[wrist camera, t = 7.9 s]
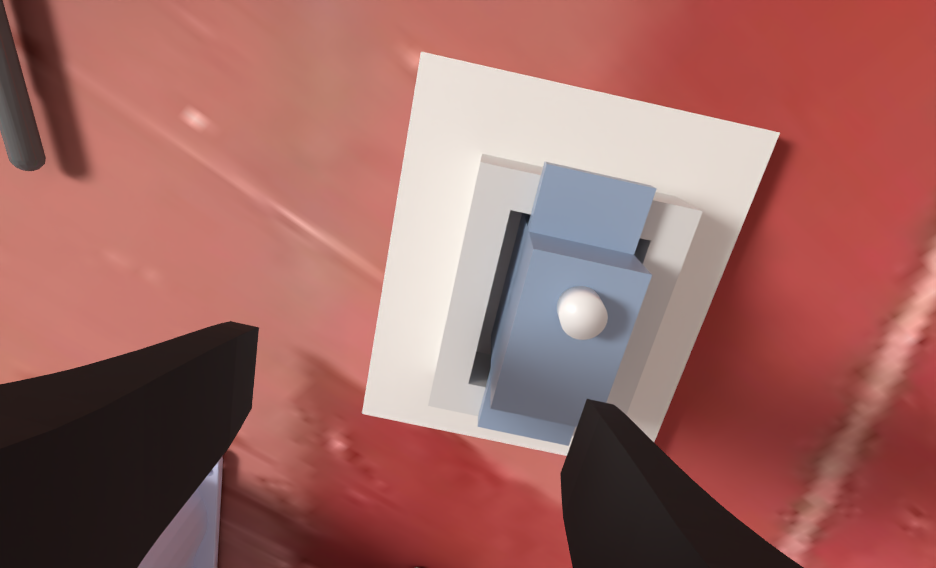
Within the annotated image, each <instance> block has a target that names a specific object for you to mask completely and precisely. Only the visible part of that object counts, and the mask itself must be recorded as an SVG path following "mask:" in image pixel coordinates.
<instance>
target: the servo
mask: <svg viewBox="0 0 936 568" xmlns="http://www.w3.org/2000/svg"><path fill="white" fill-rule="evenodd" d="M655 192H656V188H655V187H653V186H651V185H647V184H643V183H638V182H634V181H630V180H625V179H621V178H616V177H612V176H607V175H603V174H599V173H594V172H590V171H585V170H581V169H576V168H572V167H568V166H563V165H559V164H554V163H550V162H544V166H543V170H542V173H541V177H540V181H539V185H538V189H537V193H536V196H535V200H534V204H533V208H532V212H531V214H527V213H522V216H521V220H520V224H519V228H518V231H517V235H516V239H515V243H514V247H513V251H512V255H511V259H510V263H509V267H508V271H507V275H506V279H505V282H504V286H503V290H502V294H501V298H500V302H499V306H498V310H497V314H496V318H495V322H494V326H493V330H492V333H491V369H490V373H489V376H488V380H487V384H486V388H485V392H484V396H483V399H482V403H481V407H480V411H479V415H478V427H481V428H486V429H490V430H495V431H500V432H505V433H509V434H514V435H519V436H524V437H529V438H533V439H538V440H543V441H548V442H552V443H557V444H562V445H567V446H569V444H570V441H571V438H572V435H573V432H574V429H575V427H577V425H578V422H579V420H580V417H581V414H582V411H583V408H584V405H585V402H586V400H587V399H591V400H595V401H600V402H605V403H606V402H607V399H608V396H609V394H610V391H611V388H612V385H613V383H614V380H615V377H616V374H617V371H618V369H619V366H620V363H621V360H622V358H623V355H624V352H625V349H626V346H627V344H628V341H629V338H630V335H631V333H632V330H633V327H634V324H635V321H636V319H637V316H638V313H639V310H640V308H641V305H642V302H643V299H644V296H645V294H646V291H647V288H648V285H649V283H650V280H651V277H652V274H651V273H650V272H649V271H648V270H647V269H646V267H645V266H644V265H643V264H642V263H641V262H640V261H639V260H638V259H637V257H636V256H635V255H634V253H635V251H636V248H637V245H638V242H639V239H640V236H641V233H642V230H643V227H644V224H645V221H646V218H647V215H648V212H649V210H650V207H651V204H652V201H653V198H654V195H655Z"/></svg>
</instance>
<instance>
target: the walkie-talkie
mask: <svg viewBox="0 0 936 568" xmlns="http://www.w3.org/2000/svg"><path fill="white" fill-rule="evenodd" d="M0 131H1V134H2V137H3V141H4V144H5V148H6V151H7V154H8V158H9V160H10V162H11V163H12V164H13V165H14V166H15V167H17V168H19V169H21V170H25V171H34V170H37V169H40V168H41V167H42V166H43V165H44V164H45V159H46V157H45V154H44V150H43V146H42V143H41V139H40V135H39V132H38V128H37V124H36V121H35V117H34V113H33V110H32V106H31V102H30V99H29V95H28V92H27V88H26V84H25V81H24V77H23V73H22V70H21V66H20V62H19V59H18V55H17V51H16V48H15V44H14V40H13V37H12V33H11V30H10V26H9V22H8V19H7V15H6V11H5V8H4V4H3V0H0Z"/></svg>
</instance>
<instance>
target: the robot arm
mask: <svg viewBox="0 0 936 568" xmlns="http://www.w3.org/2000/svg"><path fill="white" fill-rule="evenodd" d="M258 331H259V327H254V326H250V325H245V324H240V323H236V322H231V321H230V322H225V323H221V324H217V325H214V326H211V327H207V328H204V329H201V330H198V331H195V332H192V333H189V334H186V335H183V336H180V337H177V338H174V339H171V340H168V341H165V342H162V343H159V344H156V345H153V346H149V347H146V348H143V349H140V350H137V351H133V352H130V353H127V354H123V355H120V356H116V357H113V358H109V359H106V360H103V361H99V362H96V363H92V364H89V365H85V366H82V367H78V368H74V369H70V370H66V371H62V372H57V373H53V374H49V375H44V376H39V377H35V378H30V379H25V380H21V381H16V382H11V383H6V384H0V568H217V562H218V543H219V524H220V506H221V487H222V468H223V457H222V456H223V455H224V453H225V452H226V451H227V449H228V448H229V446H230V445H231V443H232V442H233V440H234V438H235V437H236V435H237V433H238V432H239V430H240V428H241V426H242V425H243V423H244V421H245V419H246V417H247V416H248V414H249V412H250V410H251V409H252V398H253V387H254V376H255V365H256V353H257V342H258ZM561 493H562V508H563V519H564V524H565V530H566V535H567V540H568V545H569V551H570V556H571V561H572V566H573V568H803V567H802V566H800V565H799V564H797V563H796V562H795V561H793V560H792V559H790V558H789V557H787V556H786V555H785V554H783V553H782V552H780V551H779V550H778V549H776V548H775V547H773V546H772V545H771V544H769V543H768V542H767V541H765V540H764V539H763V538H762V537H760V536H759V535H758V534H756V533H755V532H754V531H753V530H751V529H750V528H749V527H747V526H746V525H745V524H744V523H742V522H741V521H740V520H738V519H737V518H736V517H735V516H733V515H732V514H731V513H730V512H729V511H727V510H726V509H725V508H724V507H723V506H721V505H720V504H719V503H718V502H717V501H716V500H715V499H713V498H712V497H711V496H710V495H709V494H708V493H707V492H706V491H704V490H703V489H702V488H701V487H700V486H699V485H698V484H697V483H695V482H694V481H693V480H692V479H691V478H690V477H689V476H688V475H687V474H686V473H685V472H684V471H683V470H682V469H680V468H679V467H678V466H677V465H676V464H675V463H674V462H673V461H672V460H671V459H670V458H669V457H668V456H667V455H666V454H665V453H664V452H663V451H662V450H661V449H660V448H659V447H658V446H657V445H656V444H655V443H654V442H653V441H652V440H651V439H650V438H649V437H648V436H647V435H646V434H645V433H644V432H643V431H642V430H641V429H640V428H639V427H638V426H637V425H636V424H635V423H634V422H633V421H632V420H631V419H630V418H629V417H628V416H627V415H626V414H625V413H624V412H622V411H621V410H620V409H619V408H618V407H617V406H615V405H614V404H609V403H605V402H600V401H595V400H591V399H587V400H586V402H585V405H584V408H583V411H582V414H581V417H580V420H579V422H578V425H577V428H576V431H575V434H574V437H573V440H572V442H571V445H570V448H569V451H568V454H567V457H566V460H565V463H564V465H563V468H562V471H561Z"/></svg>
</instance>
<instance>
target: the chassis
mask: <svg viewBox="0 0 936 568" xmlns="http://www.w3.org/2000/svg"><path fill="white" fill-rule="evenodd" d="M779 134H780V133H779V132H774V131H770V130H766V129H761V128H757V127H752V126H748V125H743V124H739V123H735V122H730V121H726V120H721V119H717V118H712V117H708V116H704V115H699V114H695V113H690V112H686V111H682V110H677V109H673V108H668V107H664V106H659V105H655V104H651V103H646V102H642V101H637V100H633V99H628V98H624V97H620V96H615V95H611V94H606V93H602V92H598V91H593V90H589V89H584V88H580V87H575V86H571V85H567V84H562V83H558V82H553V81H549V80H544V79H540V78H536V77H531V76H527V75H522V74H518V73H514V72H509V71H505V70H500V69H496V68H491V67H487V66H483V65H478V64H474V63H469V62H465V61H461V60H456V59H452V58H447V57H443V56H438V55H434V54H430V53H425V52H421V55H420V61H419V67H418V74H417V80H416V86H415V92H414V98H413V104H412V110H411V117H410V123H409V129H408V135H407V141H406V147H405V153H404V159H403V166H402V172H401V178H400V184H399V190H398V196H397V202H396V209H395V215H394V221H393V227H392V233H391V239H390V245H389V252H388V258H387V264H386V270H385V276H384V282H383V288H382V294H381V301H380V307H379V313H378V319H377V325H376V331H375V337H374V344H373V350H372V356H371V362H370V368H369V374H368V380H367V386H366V393H365V399H364V405H363V411H362V414H366V415H371V416H376V417H381V418H385V419H390V420H395V421H400V422H405V423H410V424H415V425H419V426H424V427H429V428H434V429H439V430H444V431H449V432H453V433H458V434H463V435H468V436H473V437H478V438H483V439H487V440H492V441H497V442H502V443H507V444H512V445H517V446H521V447H526V448H531V449H536V450H541V451H546V452H551V453H555V454H560V455H565V456H567V454H568V451H569V448H570V445H571V442H572V440H573V437H574V434H575V431H576V428H577V427H575V429H574V432H573V435H572V438H571V441H570V444H569V446H567V445H562V444H557V443H552V442H548V441H543V440H538V439H533V438H529V437H524V436H519V435H514V434H509V433H505V432H500V431H495V430H490V429H486V428H481V427H478V415H479V411H480V407H481V403H482V399H483V396H484V392H485V388H486V384H487V380H488V376H489V373H490V369H491V333H492V330H493V326H494V322H495V318H496V314H497V310H498V306H499V302H500V298H501V294H502V290H503V286H504V282H505V279H506V275H507V271H508V267H509V263H510V259H511V255H512V251H513V247H514V243H515V239H516V235H517V231H518V228H519V224H520V220H521V216H522V213H527V214H531V212H532V208H533V204H534V200H535V196H536V193H537V189H538V185H539V181H540V177H541V173H542V170H543V166H544V162H550V163H554V164H559V165H563V166H568V167H572V168H576V169H581V170H585V171H590V172H594V173H599V174H603V175H607V176H612V177H616V178H621V179H625V180H630V181H634V182H638V183H643V184H647V185H651V186H653V187H655V188H656V192H655V195H654V198H653V201H652V204H651V207H650V210H649V212H648V215H647V218H646V221H645V224H644V227H643V230H642V233H641V236H640V239H639V242H638V245H637V248H636V251H635V253H634V255H635V256H636V257H637V259H638V260H639V261H640V262H641V263H642V264H643V265H644V266H645V267H646V269H647V270H648V271H649V272H650V273H651V274H652V277H651V280H650V283H649V285H648V288H647V291H646V294H645V296H644V299H643V302H642V305H641V308H640V310H639V313H638V316H637V319H636V321H635V324H634V327H633V330H632V333H631V335H630V338H629V341H628V344H627V346H626V349H625V352H624V355H623V358H622V360H621V363H620V366H619V369H618V371H617V374H616V377H615V380H614V383H613V385H612V388H611V391H610V394H609V396H608V399H607V402H606V403H609V404H614V405H615V406H617V407H618V408H619V409H620V410H621V411H622V412H624V413H625V414H626V415H627V416H628V417H629V418H630V419H631V420H632V421H633V422H634V423H635V424H636V425H637V426H638V427H639V428H640V429H641V430H642V431H643V432H644V433H645V434H646V435H647V436H648V437H649V438H650V439H651V440H652V441H653V442H655V439H656V437H657V434H658V432H659V429H660V427H661V424H662V422H663V420H664V417H665V415H666V412H667V410H668V407H669V405H670V402H671V400H672V397H673V395H674V392H675V390H676V388H677V385H678V383H679V380H680V378H681V375H682V373H683V370H684V368H685V365H686V363H687V360H688V358H689V356H690V353H691V351H692V348H693V346H694V343H695V341H696V338H697V336H698V333H699V331H700V329H701V326H702V324H703V321H704V319H705V316H706V314H707V311H708V309H709V306H710V304H711V301H712V299H713V297H714V294H715V292H716V289H717V287H718V284H719V282H720V279H721V277H722V274H723V272H724V269H725V267H726V265H727V262H728V260H729V257H730V255H731V252H732V250H733V247H734V245H735V242H736V240H737V237H738V235H739V233H740V230H741V228H742V225H743V223H744V220H745V218H746V215H747V213H748V210H749V208H750V205H751V203H752V201H753V198H754V196H755V193H756V191H757V188H758V186H759V183H760V181H761V178H762V176H763V173H764V171H765V169H766V166H767V164H768V161H769V159H770V156H771V154H772V151H773V149H774V146H775V144H776V141H777V139H778V137H779Z"/></svg>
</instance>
